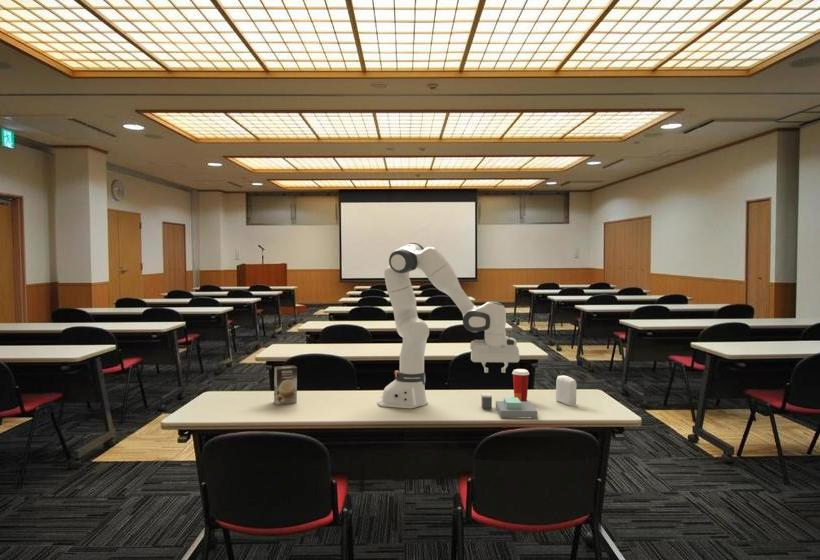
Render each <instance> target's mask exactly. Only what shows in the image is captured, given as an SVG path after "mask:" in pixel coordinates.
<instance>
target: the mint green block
mask: <svg viewBox="0 0 820 560" xmlns="http://www.w3.org/2000/svg"><path fill="white" fill-rule="evenodd" d="M503 401H504V405H505V406H506V408H507V409H521V402H520V400H519V399H518V398H514V396H513V397H506V396H505V397H503Z"/></svg>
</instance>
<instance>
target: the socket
mask: <svg viewBox="0 0 820 560" xmlns="http://www.w3.org/2000/svg"><path fill="white" fill-rule="evenodd" d="M520 402H521V409H507V408H506V406H505V405H504V400H495V410H496V409H497V410H496V412H497V411H498V412H497V414H498V416H499V418H500V417H508V418H507V419H518V418H517V417H531V418H530V419H538V410H537V409H536V408H535V406H534V405H533V403H532V402H531V401H528V400H527V401H520ZM509 417H511V418H509Z"/></svg>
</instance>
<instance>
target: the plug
mask: <svg viewBox="0 0 820 560" xmlns="http://www.w3.org/2000/svg"><path fill="white" fill-rule="evenodd" d="M492 401H493V396H492V393H491V392H481V402H480V404H481V406H482V407H481V409H482V408H483V409H482V410H492V409H493V408H492V407H493V404H492V403H493V402H492ZM484 408H485V409H484Z"/></svg>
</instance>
